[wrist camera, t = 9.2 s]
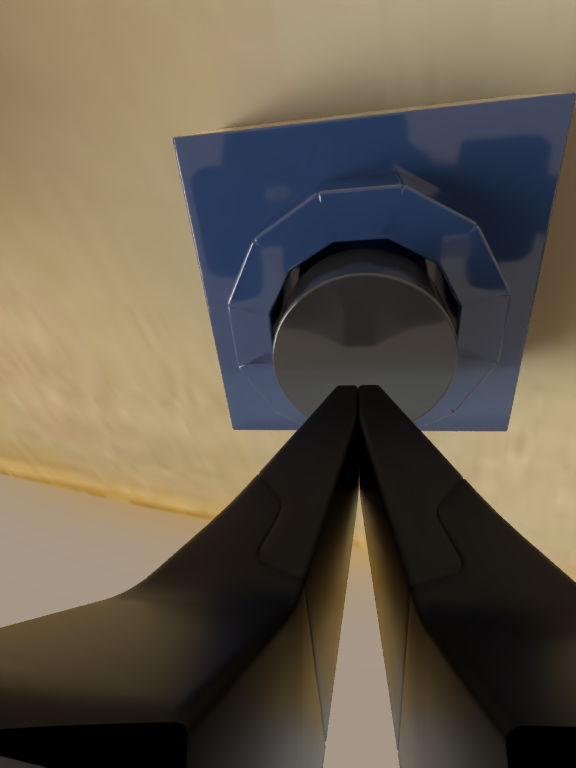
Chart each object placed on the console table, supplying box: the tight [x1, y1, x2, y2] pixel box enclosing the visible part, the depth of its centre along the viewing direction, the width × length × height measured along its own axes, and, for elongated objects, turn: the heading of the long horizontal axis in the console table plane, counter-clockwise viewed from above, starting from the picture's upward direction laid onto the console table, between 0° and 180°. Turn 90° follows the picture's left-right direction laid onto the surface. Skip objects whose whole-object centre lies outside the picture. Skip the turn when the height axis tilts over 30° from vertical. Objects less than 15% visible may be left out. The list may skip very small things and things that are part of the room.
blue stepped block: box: [173, 92, 576, 431], centre depth 15 cm, size 10×10×7 cm
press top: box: [272, 248, 459, 422], centre depth 11 cm, size 4×4×2 cm
